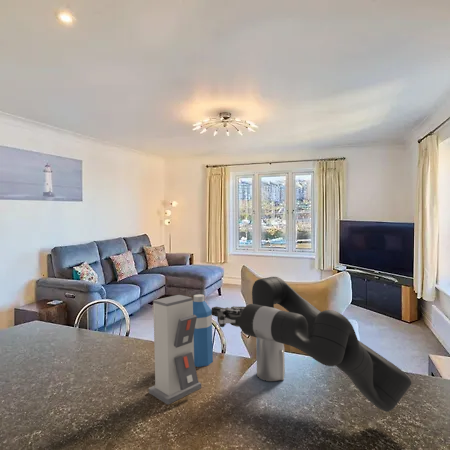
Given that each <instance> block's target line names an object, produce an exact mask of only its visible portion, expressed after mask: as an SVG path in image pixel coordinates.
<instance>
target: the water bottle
mask: <svg viewBox="0 0 450 450" xmlns="http://www.w3.org/2000/svg"><path fill="white" fill-rule="evenodd" d="M193 315H196V316H197V319H196V324H195V329H194V363H195V368H196V367H197V368H201V367H206V366H207V367H208V366H210V365H211V364H212V363H213V362H214V358H213V357H214V355H213V352H214V351H213V348H214V347H213V315H212V308H211V307H210V306H209V304H208V303H207V302H206V300H205V295H204V294H200V293H199V294H194V295H193Z"/></svg>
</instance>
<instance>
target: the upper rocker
mask: <svg viewBox="0 0 450 450" xmlns="http://www.w3.org/2000/svg"><path fill="white" fill-rule="evenodd" d="M196 319H197V316H196V315H191V316H188V317H184V318H180V319H179V321H178V327H177V332H176V337H175V342H174V346H175V347H176V348H177V347H180V346H183V345H186V344H188V343H191V342H192V339H193V334H194V329H195V324H196Z"/></svg>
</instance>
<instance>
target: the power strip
mask: <svg viewBox="0 0 450 450" xmlns="http://www.w3.org/2000/svg"><path fill="white" fill-rule="evenodd" d="M193 301H194V297H191V296H187V295H182V294H176V295H171V296H167V297H163V298H158V299H153V300H152V302H153V304H152V307H153V309H152V310H153V338H154V339H153V341H154V343H153V344H154V345H153V347H154V379H155V380H154V382H155V384H154V385H152V386H150V387H148V394H150V395H151V396H153V397H154V398H156V399H158V400H159V401H161V402H163V403H164V404H166V405H171V404H172V403H175V402H176V401H179V400H180V399H182V398H185V397H186V396H188V395H190V394H192V393H194V392H197V391H198V390H201V389H202V382H199V381H198V382H199V383H197V384H195V385H192V386H190V387H188V388H186V389H184V390H181V389H180V384H179V379H178V374H177V370H176V365H175V360H174V358H176V357H179V356H182V355H184V354H187V353H189V352H192V354H193V359H194V334H193V339H192V342H191V343H188V344H186V345H183V346H180V347H177V348H176V347H175V346H174V342H175V337H176V332H177V327H178V321H179V319H180V318H184V317H188V316H191V315H193Z"/></svg>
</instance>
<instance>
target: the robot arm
mask: <svg viewBox="0 0 450 450" xmlns="http://www.w3.org/2000/svg"><path fill="white" fill-rule="evenodd" d="M251 299H252V303H249V304H248V305H246V306H234V305H233V306H231V307H225V308H224V307H220V306H212V307H211V310H212V317H216V319H217V323H218V325H219V327H220V328H224V327H225V326H226V325H227V324H229V325H231V326H233V327H236V328H240V329H241V331H242V333H244V335H246V336H250V337H254V338H255V344H256V345H255V348H256V350H255V352H256V354H255V355H256V376H257V377H259V378H258V379H260V378H261V379H260V380H262V379H263V381H265V380H266V381H265V382H277V381H278V382H279V381H284V380H285V379H284V378H285V373H286V372H285V371H286V369H285V368H286V367H285V345H287V346H290V347H293V348H295V349H297V350H299V351H301V352H302V353H305V354H306V355H308V356H309V357H310V358H312V359H314V361H316V362H318V363H319V364H322V365H323V366H327V367H334V366H335V367H337V368H338V369H339V370H341V371H342V372H343V373H344V374H345V375H347V377H349V379H350V380H351V382H352V383H353V385H354V386H355V387H356V388H357V389H358V391H359V392H360V393H361V395H362V396H364V397H365V399H366V400H368V401H369V402H370V403H371V404H372V405H374V407H377V409H379V410H381V411H383V412H391V411H393V410H394V408H396V407H397V405H398V403H399V402H400V401H401V400H402V398H403V397H404V396H405V394H406V393H407V392H408V390H409V389H410V387H411V385H412V380H411V378H410V377H409V376H408V374H407V373H406V372H404V371H403V370H402V369H401V368H399V366H398V365H395V364H394V363H392V362H391V361H390V360H388V359H387V358H386V357H383V356H382V355H381V354H380V353H378V352H377V351H374V350H373V349H372V348H370V347H369V346H367V345H366V344H364V343H363V342H361V341H360V340H358V339H359V338H358V336H357V335H356V332H355V328H354V326H353V324H352V323H351V322H350V320H349V319H348V318H347V317H345V315H344V314H342V313H341V312H339V311H336V310H333V309H332V310H331V309H325V310H323V311H321V310H319V309H318V308H317V307H316V306H314V305H313V304H311V303H310V302H309V301H308V300H307V299H305V298H303V297H302V296H301V295H300V294H299V293H298V292H296V290H295V289H294V288H293V287H291V285H289V284H288V283H287V282H286V281H285V280H284V279H282V278H280V277H279V276H268V277H263V278H258V279H257V280H256V281H254V282H253V284H252V289H251ZM274 305H279V306H281V307H282V308H284V309H285V310H286V311H285V310H281V309H278V308H276V307H275V306H274Z"/></svg>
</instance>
